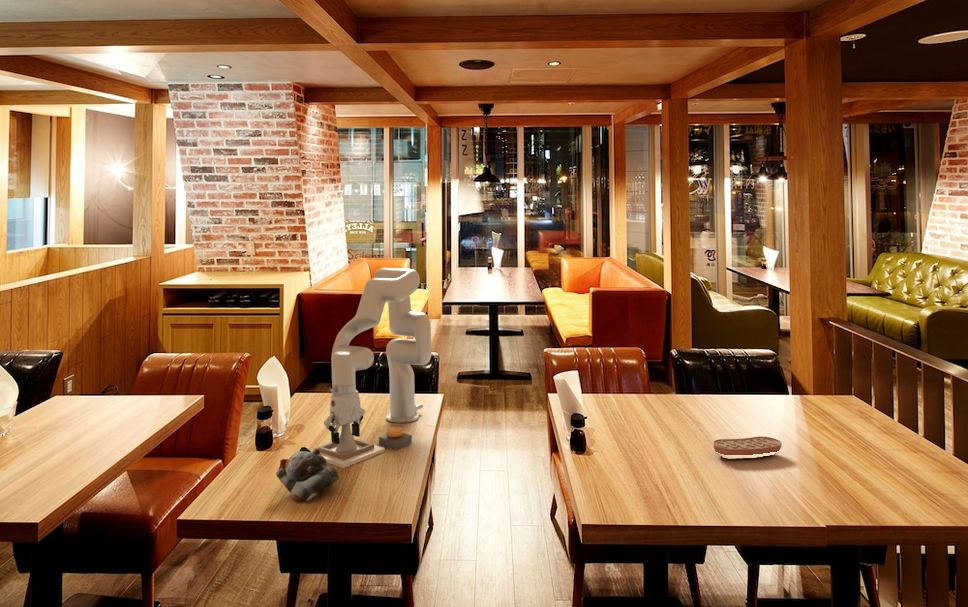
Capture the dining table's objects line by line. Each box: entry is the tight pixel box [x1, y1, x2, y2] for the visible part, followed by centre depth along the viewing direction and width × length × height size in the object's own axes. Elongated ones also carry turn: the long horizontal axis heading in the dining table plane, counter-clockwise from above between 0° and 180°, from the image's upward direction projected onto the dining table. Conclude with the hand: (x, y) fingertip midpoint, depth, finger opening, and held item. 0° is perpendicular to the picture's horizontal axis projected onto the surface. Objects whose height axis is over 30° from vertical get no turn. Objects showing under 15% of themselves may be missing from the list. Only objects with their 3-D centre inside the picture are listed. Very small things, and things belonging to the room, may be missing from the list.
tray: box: [310, 437, 386, 469], centre depth 213 cm, size 18×18×3 cm
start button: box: [385, 426, 405, 438], centre depth 221 cm, size 6×6×4 cm
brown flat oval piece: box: [712, 436, 782, 455], centre depth 210 cm, size 23×10×5 cm, turn 100°
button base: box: [378, 432, 413, 451], centre depth 222 cm, size 8×8×3 cm
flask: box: [336, 423, 357, 453], centre depth 213 cm, size 7×7×10 cm
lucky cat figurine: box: [275, 446, 340, 503], centre depth 183 cm, size 15×12×14 cm
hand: (345, 439), depth 213 cm, fingers open, 8 cm apart
